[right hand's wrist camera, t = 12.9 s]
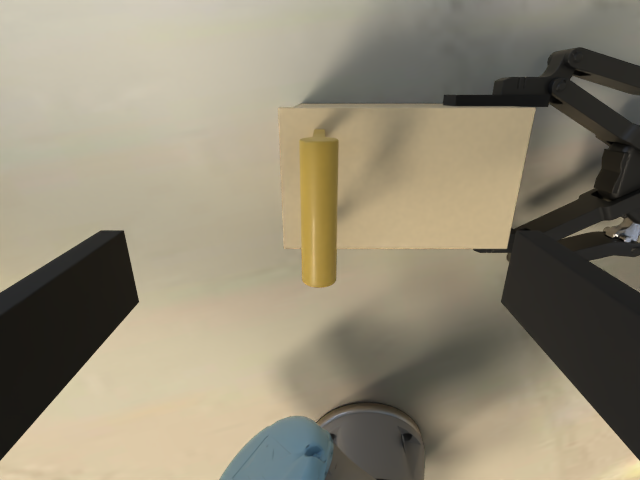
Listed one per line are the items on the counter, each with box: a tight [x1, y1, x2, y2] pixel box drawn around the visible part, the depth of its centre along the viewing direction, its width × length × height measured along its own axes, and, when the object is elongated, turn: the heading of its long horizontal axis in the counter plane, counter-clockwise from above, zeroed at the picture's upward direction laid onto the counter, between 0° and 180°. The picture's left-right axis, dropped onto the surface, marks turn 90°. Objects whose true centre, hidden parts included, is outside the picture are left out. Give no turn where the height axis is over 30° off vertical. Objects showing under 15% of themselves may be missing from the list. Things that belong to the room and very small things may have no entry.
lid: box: [278, 107, 536, 288], centre depth 21 cm, size 16×10×9 cm, turn 90°
